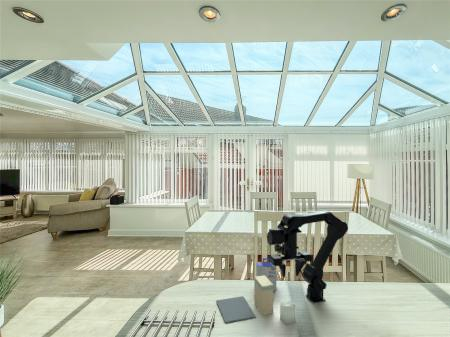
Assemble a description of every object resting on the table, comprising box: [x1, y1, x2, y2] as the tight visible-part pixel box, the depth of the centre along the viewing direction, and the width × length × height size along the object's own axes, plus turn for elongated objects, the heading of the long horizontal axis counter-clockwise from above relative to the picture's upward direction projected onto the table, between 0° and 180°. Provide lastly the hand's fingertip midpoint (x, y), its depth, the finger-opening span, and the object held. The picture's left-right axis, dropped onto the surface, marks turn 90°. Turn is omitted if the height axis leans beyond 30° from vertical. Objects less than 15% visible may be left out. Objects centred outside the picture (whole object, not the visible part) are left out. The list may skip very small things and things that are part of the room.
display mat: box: [216, 295, 257, 324], centre depth 113 cm, size 13×16×1 cm
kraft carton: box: [253, 275, 274, 315], centre depth 114 cm, size 5×9×12 cm, turn 15°
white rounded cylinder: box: [279, 300, 296, 325], centre depth 106 cm, size 6×6×6 cm
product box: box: [255, 257, 277, 292], centre depth 131 cm, size 10×6×14 cm, turn 81°
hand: (290, 276), depth 117 cm, fingers open, 6 cm apart
